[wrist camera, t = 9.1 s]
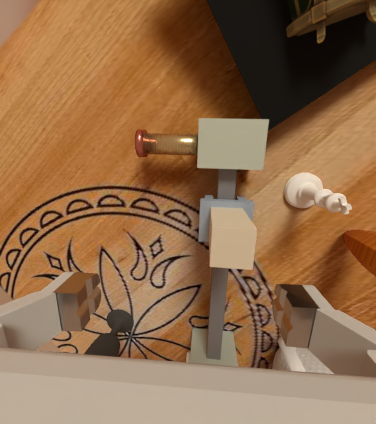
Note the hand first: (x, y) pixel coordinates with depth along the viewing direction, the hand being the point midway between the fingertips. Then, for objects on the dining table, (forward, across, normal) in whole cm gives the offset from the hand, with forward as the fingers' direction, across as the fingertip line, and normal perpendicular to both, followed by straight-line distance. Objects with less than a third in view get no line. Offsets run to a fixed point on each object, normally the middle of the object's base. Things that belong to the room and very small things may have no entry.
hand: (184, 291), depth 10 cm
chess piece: (+22, -15, -2) cm, 26 cm away
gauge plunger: (+19, +2, -7) cm, 21 cm away
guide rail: (+22, -4, +9) cm, 24 cm away
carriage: (+19, -4, +1) cm, 19 cm away
